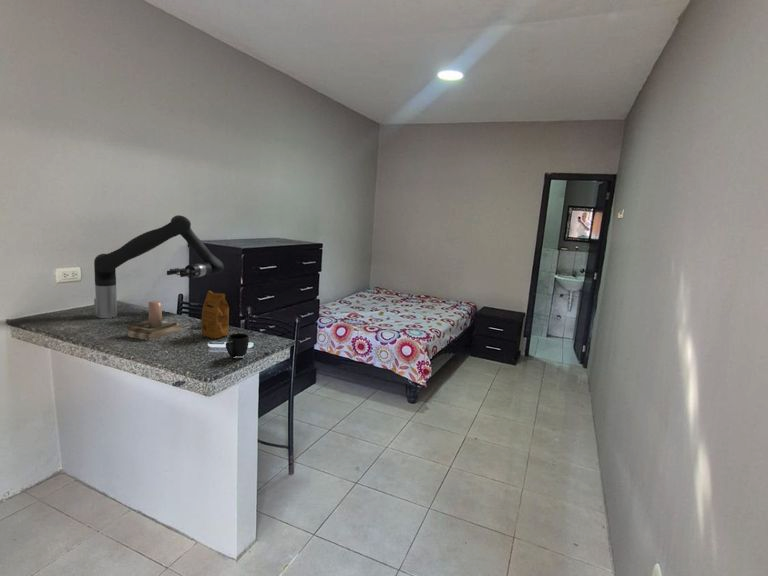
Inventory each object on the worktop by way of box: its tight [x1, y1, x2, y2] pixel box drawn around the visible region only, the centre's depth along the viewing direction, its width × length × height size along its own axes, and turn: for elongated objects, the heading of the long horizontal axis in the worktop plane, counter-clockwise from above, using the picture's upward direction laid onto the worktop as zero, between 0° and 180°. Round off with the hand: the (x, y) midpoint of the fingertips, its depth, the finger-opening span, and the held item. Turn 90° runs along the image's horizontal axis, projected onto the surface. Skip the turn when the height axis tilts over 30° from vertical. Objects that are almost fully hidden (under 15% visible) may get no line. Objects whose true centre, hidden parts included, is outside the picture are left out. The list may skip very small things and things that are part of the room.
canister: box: [148, 300, 163, 328], centre depth 200 cm, size 6×6×12 cm
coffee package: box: [200, 290, 230, 340], centre depth 204 cm, size 10×12×22 cm
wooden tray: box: [126, 320, 182, 341], centre depth 201 cm, size 12×20×5 cm, turn 165°
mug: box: [225, 332, 250, 359], centre depth 177 cm, size 8×12×10 cm
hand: (174, 274), depth 218 cm, fingers open, 8 cm apart
